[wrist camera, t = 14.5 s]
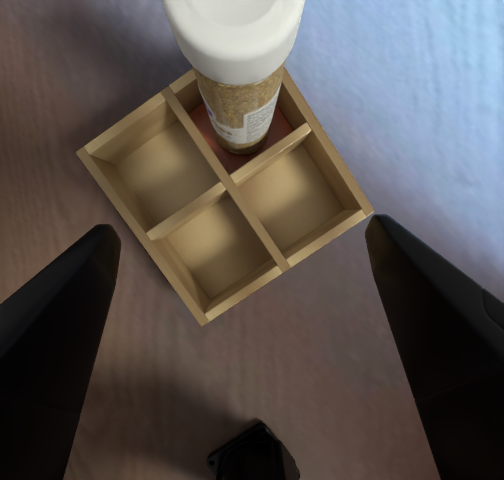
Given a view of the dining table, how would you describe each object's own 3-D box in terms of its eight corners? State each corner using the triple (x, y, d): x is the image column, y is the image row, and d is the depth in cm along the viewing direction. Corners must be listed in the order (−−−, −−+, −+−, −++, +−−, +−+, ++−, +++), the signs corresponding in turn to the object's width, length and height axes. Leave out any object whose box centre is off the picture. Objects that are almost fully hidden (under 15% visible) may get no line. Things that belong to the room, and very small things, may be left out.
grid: (209, 308, 23) (201, 327, 19) (106, 163, 22) (74, 152, 18) (352, 212, 22) (375, 211, 18) (255, 58, 21) (256, 21, 17)
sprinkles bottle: (202, 122, 21) (122, -45, 7) (247, 86, 21) (246, -152, 7) (237, 168, 21) (220, 87, 8) (281, 133, 21) (341, -12, 8)
